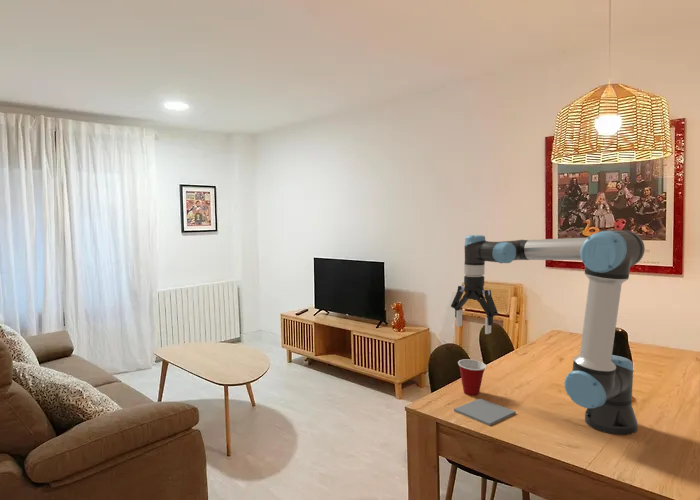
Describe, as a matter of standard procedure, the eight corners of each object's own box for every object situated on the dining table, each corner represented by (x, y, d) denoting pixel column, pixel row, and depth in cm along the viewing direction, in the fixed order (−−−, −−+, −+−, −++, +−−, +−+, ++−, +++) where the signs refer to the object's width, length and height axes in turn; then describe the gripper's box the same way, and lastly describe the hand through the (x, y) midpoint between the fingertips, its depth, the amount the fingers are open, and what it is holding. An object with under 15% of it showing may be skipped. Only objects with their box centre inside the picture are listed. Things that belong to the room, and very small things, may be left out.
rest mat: (515, 413, 162) (515, 411, 162) (489, 425, 153) (489, 423, 153) (480, 400, 174) (480, 398, 174) (453, 411, 165) (453, 408, 165)
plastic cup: (478, 400, 174) (478, 369, 173) (452, 393, 181) (452, 363, 180) (490, 392, 182) (491, 362, 181) (465, 385, 189) (465, 357, 188)
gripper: (508, 278, 170) (507, 334, 172) (454, 271, 189) (454, 322, 191) (496, 280, 165) (495, 338, 167) (442, 272, 185) (441, 324, 187)
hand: (473, 329), depth 179 cm, fingers open, 13 cm apart
